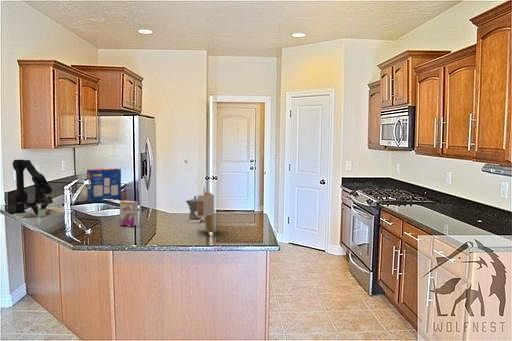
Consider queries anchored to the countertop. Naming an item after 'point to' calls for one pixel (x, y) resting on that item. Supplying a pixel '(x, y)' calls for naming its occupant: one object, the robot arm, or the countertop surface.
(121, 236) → the countertop surface
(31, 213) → the white cube
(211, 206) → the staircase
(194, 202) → the coffeepot
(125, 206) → the candy bar box
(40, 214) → the sage cube
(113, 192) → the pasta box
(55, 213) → the birch block
